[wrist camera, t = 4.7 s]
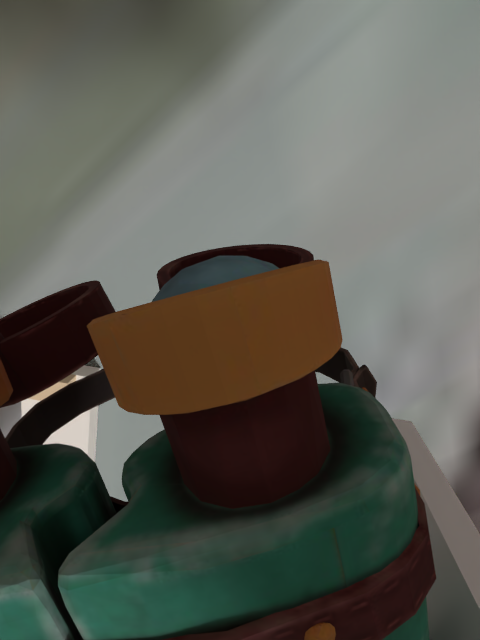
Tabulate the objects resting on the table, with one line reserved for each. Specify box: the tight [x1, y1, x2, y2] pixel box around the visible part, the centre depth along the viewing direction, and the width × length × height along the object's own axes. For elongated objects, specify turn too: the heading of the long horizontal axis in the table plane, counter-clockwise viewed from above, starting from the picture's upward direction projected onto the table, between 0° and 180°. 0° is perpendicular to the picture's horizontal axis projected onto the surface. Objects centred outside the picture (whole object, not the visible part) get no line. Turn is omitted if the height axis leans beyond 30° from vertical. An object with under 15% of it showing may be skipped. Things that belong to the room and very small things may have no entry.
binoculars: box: [0, 244, 436, 640], centre depth 9 cm, size 9×11×10 cm
